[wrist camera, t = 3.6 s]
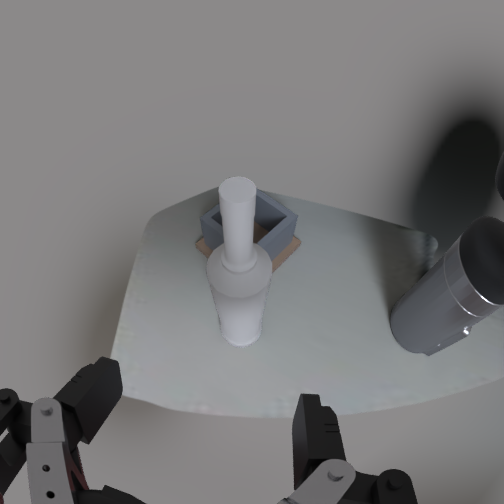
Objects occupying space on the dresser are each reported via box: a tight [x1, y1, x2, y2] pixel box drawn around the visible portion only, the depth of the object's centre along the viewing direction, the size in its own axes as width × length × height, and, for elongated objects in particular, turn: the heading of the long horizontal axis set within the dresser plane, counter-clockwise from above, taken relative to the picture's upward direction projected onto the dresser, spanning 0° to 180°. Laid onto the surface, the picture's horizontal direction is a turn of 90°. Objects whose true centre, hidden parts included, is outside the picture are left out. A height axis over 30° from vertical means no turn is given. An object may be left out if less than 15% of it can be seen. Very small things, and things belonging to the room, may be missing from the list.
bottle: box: [206, 176, 272, 347], centre depth 26 cm, size 5×5×25 cm
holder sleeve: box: [195, 188, 301, 273], centre depth 40 cm, size 11×11×7 cm
